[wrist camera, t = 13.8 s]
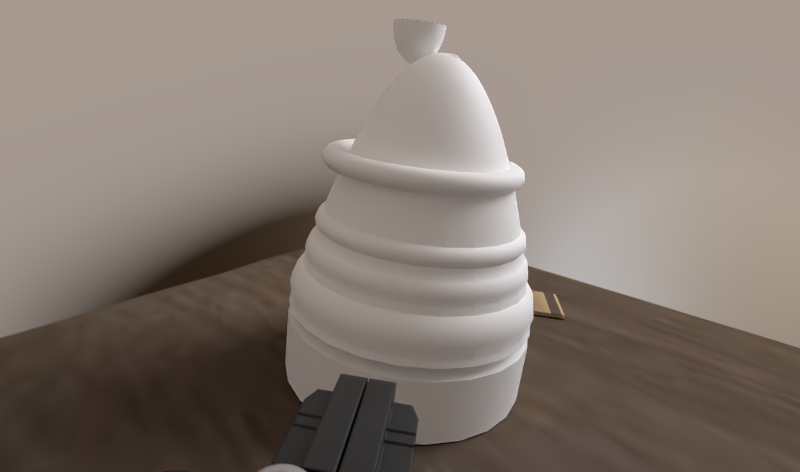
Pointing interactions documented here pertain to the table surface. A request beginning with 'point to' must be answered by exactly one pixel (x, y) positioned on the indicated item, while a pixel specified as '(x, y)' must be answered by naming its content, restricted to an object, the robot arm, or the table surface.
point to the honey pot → (418, 253)
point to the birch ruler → (547, 305)
